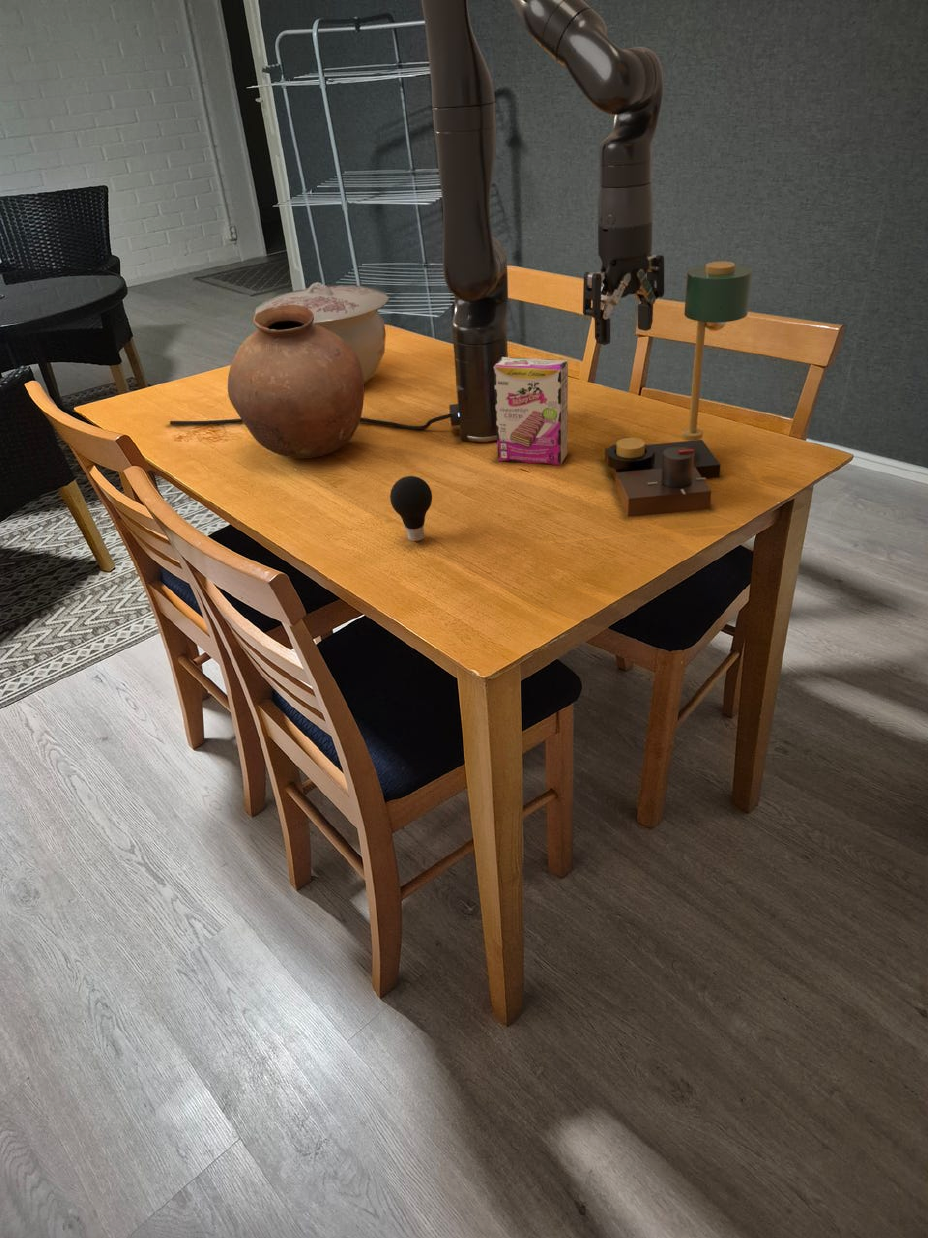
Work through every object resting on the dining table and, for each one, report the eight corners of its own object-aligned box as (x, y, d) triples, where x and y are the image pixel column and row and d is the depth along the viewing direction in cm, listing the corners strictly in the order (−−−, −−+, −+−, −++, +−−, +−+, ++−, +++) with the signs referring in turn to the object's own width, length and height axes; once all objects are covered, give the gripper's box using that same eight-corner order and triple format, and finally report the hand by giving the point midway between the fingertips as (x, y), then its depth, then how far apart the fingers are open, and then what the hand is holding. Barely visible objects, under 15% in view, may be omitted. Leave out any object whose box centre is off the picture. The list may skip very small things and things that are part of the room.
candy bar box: (496, 462, 143) (491, 365, 133) (505, 450, 146) (501, 355, 137) (561, 467, 139) (561, 368, 130) (568, 454, 143) (568, 358, 134)
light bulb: (395, 533, 124) (387, 471, 119) (435, 529, 125) (429, 467, 119) (396, 553, 120) (387, 489, 114) (437, 549, 120) (431, 484, 114)
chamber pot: (392, 400, 171) (379, 294, 159) (258, 409, 172) (235, 304, 161) (402, 357, 194) (391, 261, 182) (284, 365, 195) (266, 270, 184)
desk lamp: (684, 448, 132) (698, 274, 117) (669, 427, 139) (680, 260, 125) (741, 443, 132) (762, 268, 117) (723, 422, 139) (741, 254, 125)
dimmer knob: (665, 489, 123) (667, 458, 121) (658, 476, 127) (660, 446, 124) (695, 486, 123) (698, 455, 121) (687, 473, 127) (689, 443, 124)
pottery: (307, 419, 166) (282, 285, 152) (398, 439, 154) (381, 296, 140) (218, 463, 151) (181, 320, 137) (311, 489, 139) (282, 335, 125)
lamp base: (611, 487, 132) (612, 463, 129) (599, 461, 140) (600, 438, 138) (719, 477, 132) (721, 453, 130) (700, 452, 140) (702, 429, 138)
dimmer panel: (628, 517, 123) (629, 498, 121) (615, 490, 131) (615, 471, 129) (712, 510, 123) (714, 490, 122) (694, 482, 131) (696, 464, 129)
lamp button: (619, 460, 131) (619, 449, 130) (613, 449, 135) (613, 438, 134) (647, 457, 131) (648, 447, 130) (641, 446, 135) (641, 436, 134)
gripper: (641, 208, 124) (639, 321, 133) (568, 226, 118) (571, 343, 127) (680, 212, 119) (675, 329, 128) (606, 231, 113) (606, 353, 122)
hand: (623, 336), depth 127 cm, fingers open, 8 cm apart
